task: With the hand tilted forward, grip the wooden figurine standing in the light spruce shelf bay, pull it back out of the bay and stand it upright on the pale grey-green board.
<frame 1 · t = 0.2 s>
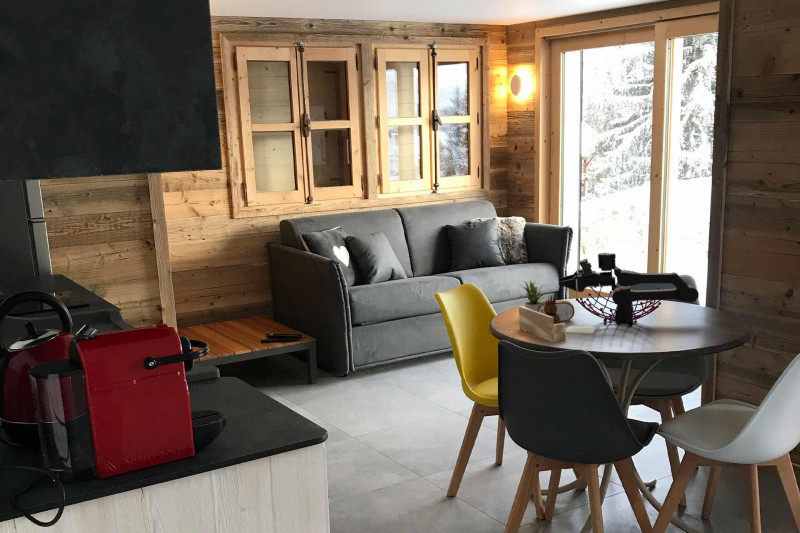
hand: (559, 281, 317), 17 cm above the table, tool horizontal, fingers open, 9 cm apart
shelf bay: (550, 332, 301), on the table
house plant: (530, 317, 329), on the table
tin: (556, 321, 320), on the table
wooden figurine: (551, 333, 302), on the table
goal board: (581, 330, 302), on the table
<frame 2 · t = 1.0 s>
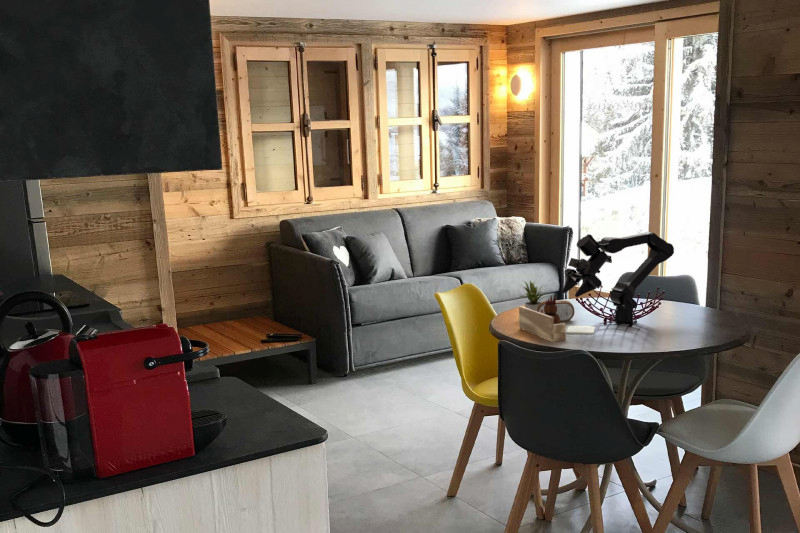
hand: (569, 294, 303), 14 cm above the table, tool tilted 45°, fingers open, 9 cm apart
nothing on the table moved.
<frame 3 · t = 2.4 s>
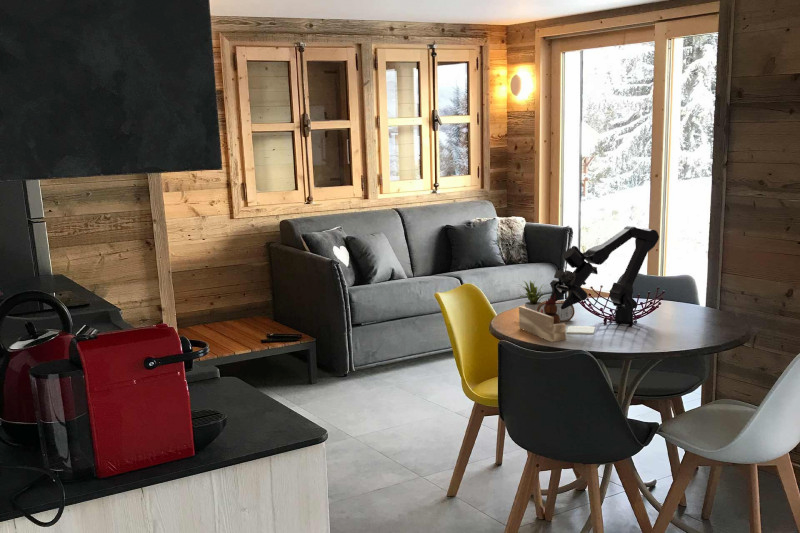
hand: (555, 306, 301), 10 cm above the table, tool tilted 45°, fingers open, 9 cm apart
nothing on the table moved.
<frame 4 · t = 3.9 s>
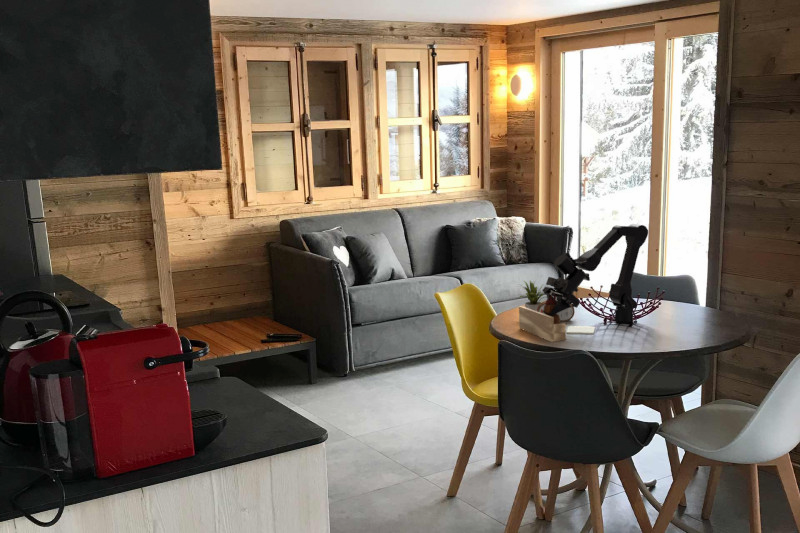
hand: (547, 313, 300), 8 cm above the table, tool tilted 45°, fingers closed on wooden figurine, 5 cm apart
wooden figurine: (551, 333, 302), on the table, touching gripper
everything else where it was.
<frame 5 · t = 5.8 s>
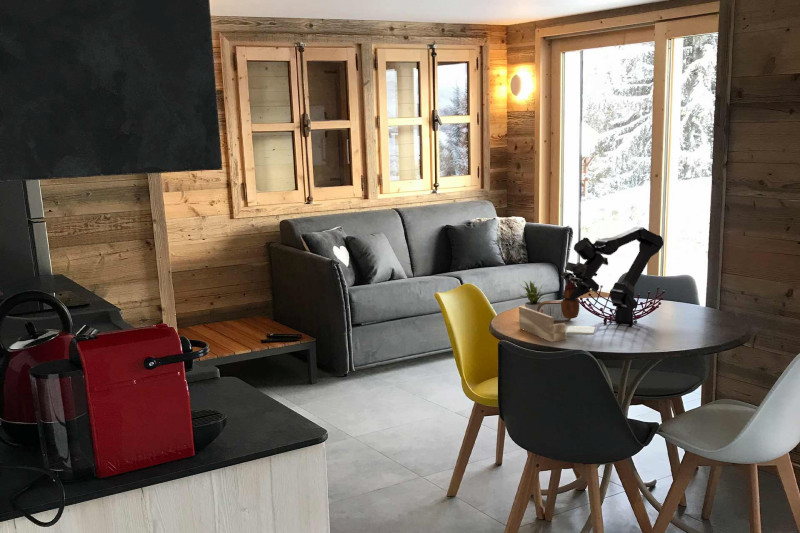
hand: (566, 298, 300), 13 cm above the table, tool tilted 45°, fingers closed on wooden figurine, 5 cm apart
wooden figurine: (570, 318, 301), point 5 cm above the table, touching gripper
everything else where it was.
when the fingers open (9 cm above the table, at t = 7.6 s): wooden figurine stays where it is, resting on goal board.
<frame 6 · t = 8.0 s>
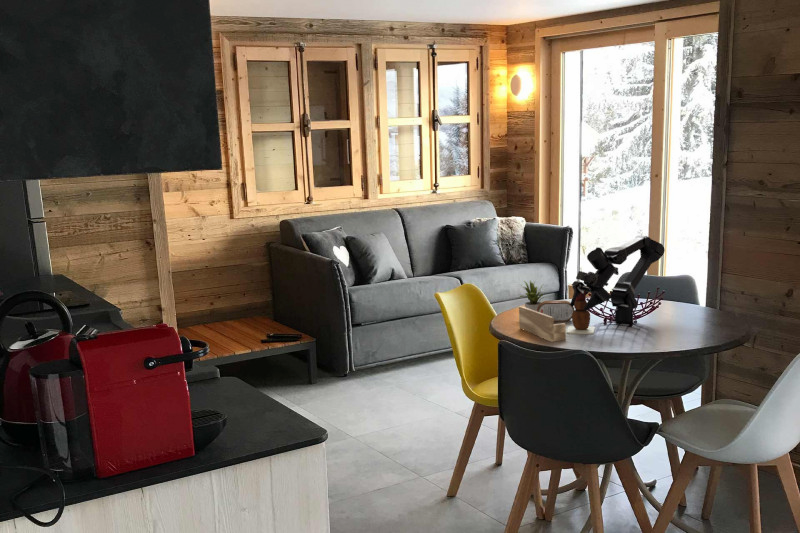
hand: (577, 307, 300), 9 cm above the table, tool tilted 45°, fingers open, 9 cm apart
wooden figurine: (581, 329, 302), resting on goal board
everything else where it was.
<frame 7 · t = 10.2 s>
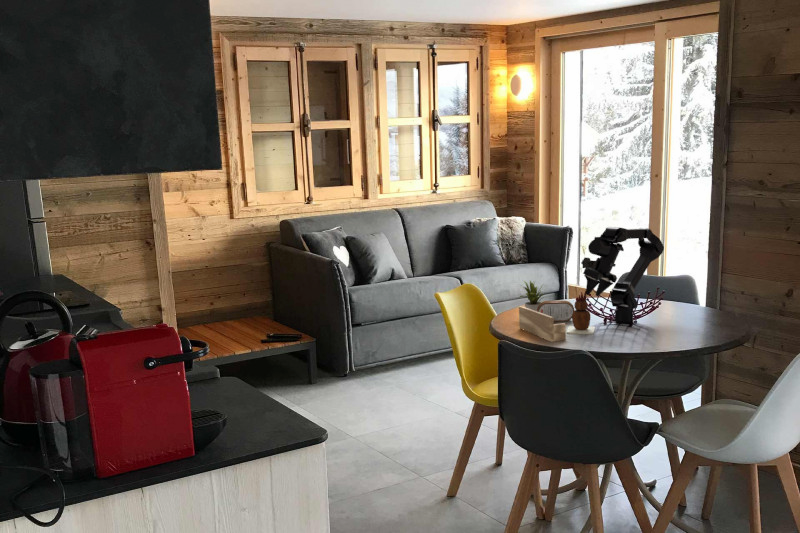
hand: (591, 295, 307), 12 cm above the table, tool tilted 25°, fingers open, 9 cm apart
nothing on the table moved.
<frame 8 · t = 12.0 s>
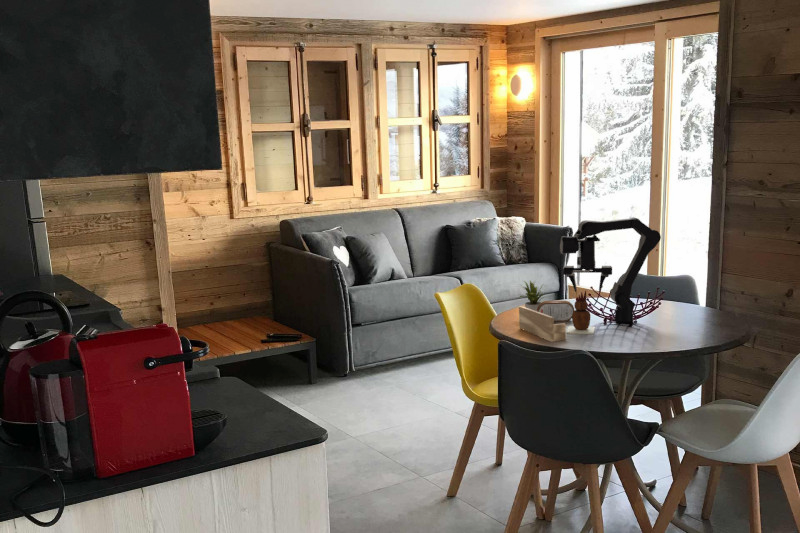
hand: (587, 291, 311), 13 cm above the table, tool pointing down, fingers open, 9 cm apart
nothing on the table moved.
at the end: wooden figurine inside the target area on the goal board (0.2 cm from its centre), point 0.4 cm above the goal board's base; wooden figurine tilted 0°; the gripper is holding nothing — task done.
